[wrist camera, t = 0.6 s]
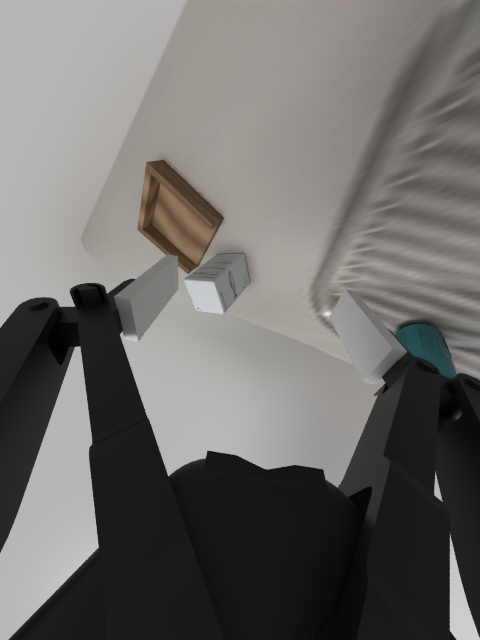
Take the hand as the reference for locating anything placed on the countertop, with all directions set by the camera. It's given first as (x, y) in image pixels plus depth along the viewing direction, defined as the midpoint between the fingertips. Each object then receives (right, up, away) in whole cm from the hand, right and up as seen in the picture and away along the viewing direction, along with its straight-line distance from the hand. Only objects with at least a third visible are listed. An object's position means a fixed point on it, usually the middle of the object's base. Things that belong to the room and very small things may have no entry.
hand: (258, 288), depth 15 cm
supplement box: (-3, +10, +29) cm, 31 cm away
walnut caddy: (-14, +19, +27) cm, 36 cm away
